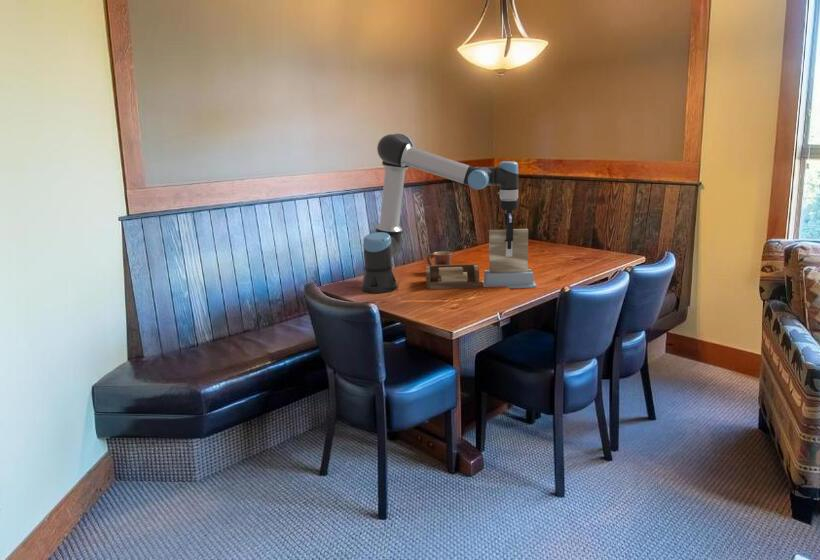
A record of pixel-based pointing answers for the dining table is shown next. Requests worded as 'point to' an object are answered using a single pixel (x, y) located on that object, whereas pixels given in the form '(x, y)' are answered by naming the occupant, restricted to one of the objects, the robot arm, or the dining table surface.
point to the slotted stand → (509, 279)
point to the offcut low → (451, 281)
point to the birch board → (498, 252)
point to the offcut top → (450, 271)
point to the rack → (433, 277)
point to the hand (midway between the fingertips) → (508, 255)
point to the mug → (440, 258)
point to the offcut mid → (455, 277)
